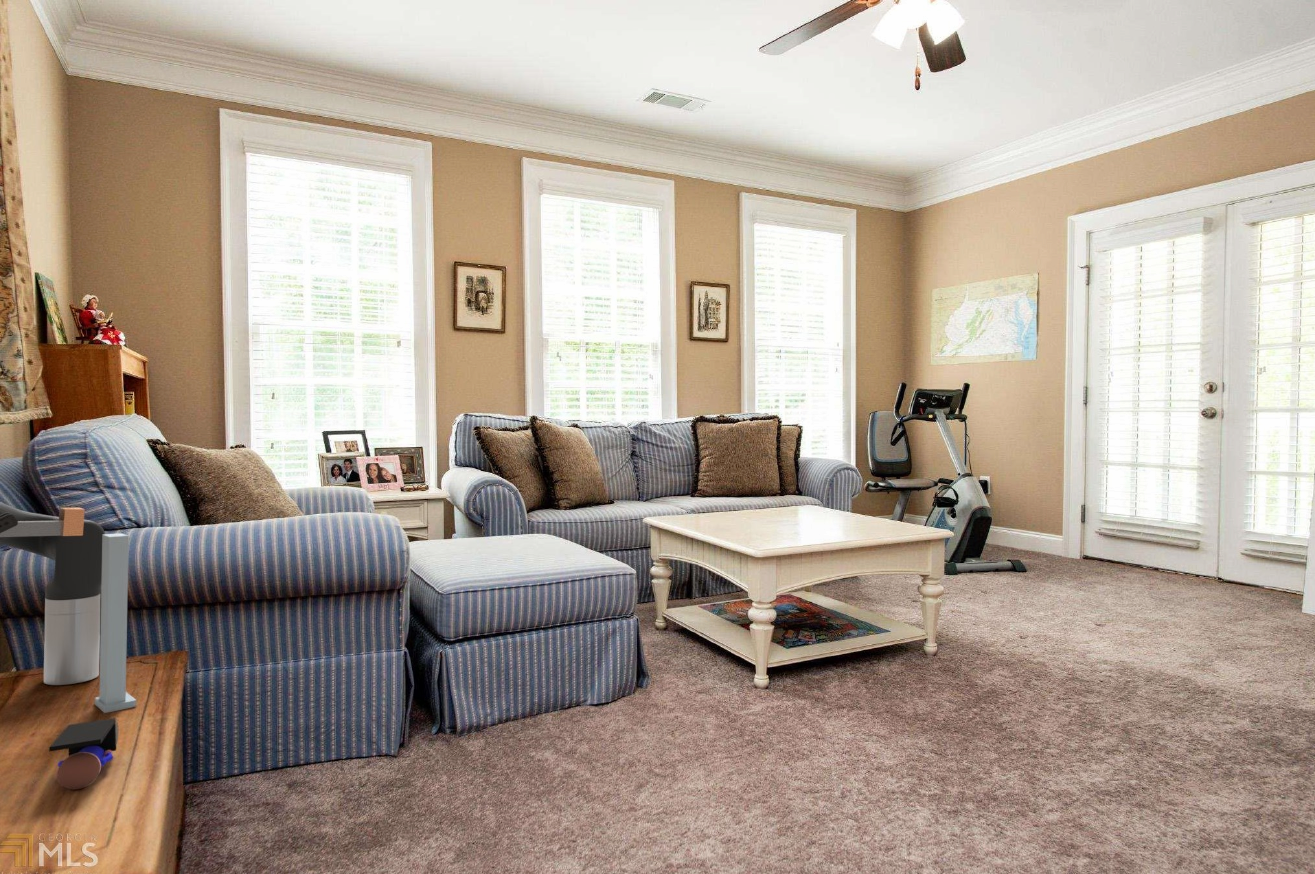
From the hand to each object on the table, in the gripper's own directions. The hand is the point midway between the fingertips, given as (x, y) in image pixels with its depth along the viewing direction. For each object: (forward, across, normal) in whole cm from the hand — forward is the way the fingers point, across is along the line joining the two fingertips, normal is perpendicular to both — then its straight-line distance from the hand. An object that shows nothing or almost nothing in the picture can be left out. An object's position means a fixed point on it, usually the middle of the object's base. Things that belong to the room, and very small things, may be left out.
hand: (13, 517), depth 133 cm
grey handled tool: (0, 0, +4) cm, 4 cm away
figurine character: (-13, -27, +35) cm, 46 cm away
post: (-4, +5, +40) cm, 40 cm away
